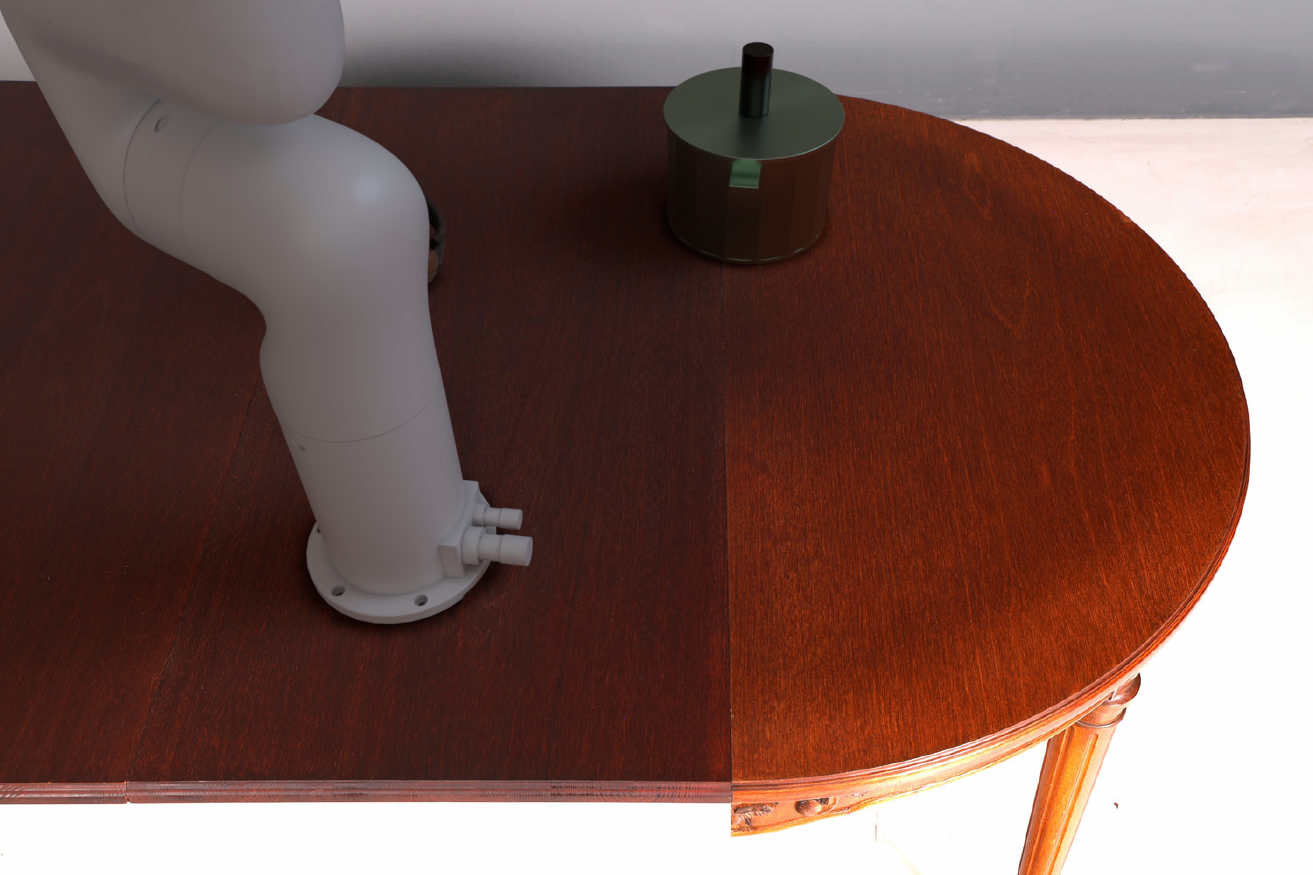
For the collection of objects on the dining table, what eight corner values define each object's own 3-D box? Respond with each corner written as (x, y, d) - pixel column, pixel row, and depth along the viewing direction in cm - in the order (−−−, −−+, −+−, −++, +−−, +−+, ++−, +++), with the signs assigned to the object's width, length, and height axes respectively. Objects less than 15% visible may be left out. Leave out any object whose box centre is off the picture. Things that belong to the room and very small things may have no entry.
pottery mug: (368, 229, 97) (399, 163, 92) (442, 297, 97) (478, 234, 92) (275, 272, 88) (304, 200, 83) (357, 346, 88) (392, 279, 83)
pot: (826, 165, 104) (840, 65, 97) (820, 290, 91) (835, 186, 83) (681, 154, 106) (683, 55, 98) (654, 276, 92) (653, 172, 84)
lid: (844, 83, 95) (854, 12, 91) (841, 177, 85) (852, 103, 80) (675, 72, 97) (676, 2, 92) (651, 163, 86) (651, 89, 82)
